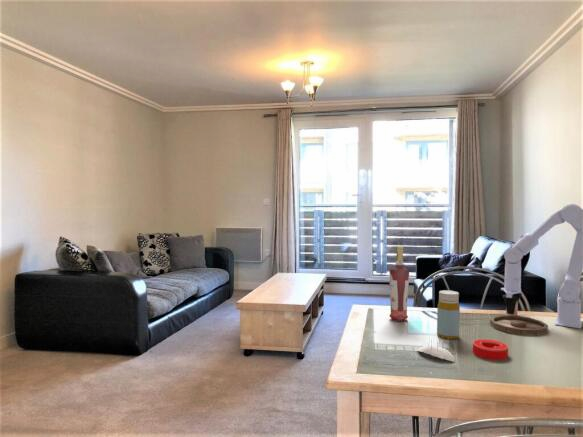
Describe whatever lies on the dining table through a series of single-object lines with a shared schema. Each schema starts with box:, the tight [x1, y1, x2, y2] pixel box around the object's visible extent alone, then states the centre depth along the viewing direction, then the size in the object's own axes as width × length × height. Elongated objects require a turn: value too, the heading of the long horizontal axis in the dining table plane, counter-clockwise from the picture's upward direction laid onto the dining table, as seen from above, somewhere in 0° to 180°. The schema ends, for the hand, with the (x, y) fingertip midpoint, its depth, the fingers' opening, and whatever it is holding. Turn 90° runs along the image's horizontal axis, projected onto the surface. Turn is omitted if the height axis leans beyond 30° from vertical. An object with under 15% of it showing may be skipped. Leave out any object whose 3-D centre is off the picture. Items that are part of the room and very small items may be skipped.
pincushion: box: [417, 339, 455, 363], centre depth 131 cm, size 12×6×6 cm, turn 40°
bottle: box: [436, 289, 461, 340], centre depth 149 cm, size 7×7×15 cm
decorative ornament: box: [472, 339, 509, 361], centre depth 133 cm, size 10×10×3 cm
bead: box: [505, 301, 519, 316], centre depth 174 cm, size 4×4×6 cm
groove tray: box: [489, 314, 549, 336], centre depth 160 cm, size 18×18×2 cm
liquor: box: [389, 245, 410, 322], centre depth 168 cm, size 7×7×28 cm
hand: (511, 312), depth 174 cm, fingers open, 5 cm apart
